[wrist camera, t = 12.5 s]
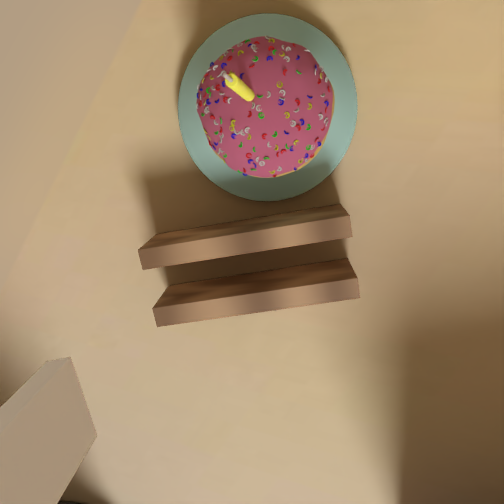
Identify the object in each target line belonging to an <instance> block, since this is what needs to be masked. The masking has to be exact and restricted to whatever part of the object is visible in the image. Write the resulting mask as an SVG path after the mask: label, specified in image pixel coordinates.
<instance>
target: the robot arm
mask: <svg viewBox="0 0 504 504" xmlns="http://www.w3.org/2000/svg"><path fill="white" fill-rule="evenodd" d="M96 437H97V433H96V430H95V427H94V424H93V421H92V418H91V415H90V413H89V410H88V407H87V404H86V401H85V398H84V395H83V392H82V389H81V386H80V383H79V380H78V377H77V374H76V371H75V368H74V366H73V363H72V360H71V357H67V358H62V359H56V360H51V361H47V362H46V363H45V364H44V365H43V366H42V367H40V368H39V369H38V370H37V371H36V372H35V373H34V374H33V375H32V376H31V377H30V378H29V379H28V380H27V381H26V382H25V383H24V384H23V385H22V386H21V387H20V388H19V389H18V390H17V391H16V392H15V393H14V394H13V395H12V396H11V397H10V398H9V399H8V400H7V401H6V402H5V403H4V404H3V405H2V406H1V407H0V504H79V503H73V502H58V501H59V500H60V498H61V496H62V495H63V493H64V491H65V490H66V488H67V486H68V485H69V483H70V481H71V479H72V478H73V476H74V474H75V473H76V471H77V469H78V468H79V466H80V464H81V462H82V461H83V459H84V457H85V456H86V454H87V452H88V451H89V449H90V447H91V445H92V444H93V442H94V440H95V439H96Z"/></svg>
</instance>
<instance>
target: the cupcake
mask: <svg viewBox="0 0 504 504" xmlns="http://www.w3.org/2000/svg"><path fill="white" fill-rule="evenodd" d="M211 64H212V65H211ZM321 67H322V68H321ZM198 86H199V87H198ZM198 86H197V89H198V93H197V102H196V108H197V112H198V115H199V117H200V120H201V122H202V125H203V129H204V132H205V135H206V137H207V140H208V142H209V145H210V146H211V148H212V149H213V151H214V152H215V154H216V155H217V156H218V157H219V158H220V159H222V160H223V161H224V163H226V164H227V165H228V166H229V167H230V168H231V169H233V170H235V171H237V172H239V173H242V174H243V175H244V176H247V175H250V176H254V177H260V178H271V177H279V176H282V175H285V174H288V173H291V172H294V171H297V170H299V169H301V168H302V167H304V166H305V165H307V164H308V163H309V162H310V161H311V160H312V159H313V158H314V157H315V156H316V155H317V154H318V152H319V151H320V149H321V148H322V146H323V144H324V142H325V139H326V137H327V134H328V130H329V127H330V124H331V120H332V117H333V113H334V105H335V96H334V90H333V87H332V84H331V82H330V81H329V79H328V77H327V76H326V74H325V72H324V67H323V66H320V65H319V64H318V62H317V61H316V59H315V58H314V57H313V55H312V54H311V53H310V50H308V49H306V48H305V47H303V46H301V45H299V44H295V43H290V42H286V41H282V40H279V39H276V38H272V37H269V36H267V35H265V36H260V37H255V38H251V39H248V40H244V41H243V42H240V43H238V44H236V45H234V46H233V47H231V48H229V49H227V51H225V52H224V53H223V54H222V55H221V56H220V57H219V58H218V59H217V60H216V61H215V62H214V63H213V62H211V63H210V68H209V69H208V70H207V72H206V73H205V75H204V77H203V78H202V80H201V82H200V84H198Z"/></svg>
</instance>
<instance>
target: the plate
mask: <svg viewBox="0 0 504 504" xmlns="http://www.w3.org/2000/svg"><path fill="white" fill-rule="evenodd" d="M265 35H267V36H269V37H272V38H276V39H279V40H282V41H286V42H290V43H295V44H299V45H301V46H303V47H305V48H306V49H308V50H310V53H311V54H312V55H313V57H314V58H315V59H316V61H317V62H318V64H319V65H320V66H323V67H324V72H325V74H326V76H327V77H328V79H329V81H330V82H331V84H332V87H333V90H334V96H335V105H334V113H333V117H332V120H331V124H330V127H329V130H328V134H327V137H326V139H325V142H324V144H323V146H322V148H321V149H320V151H319V152H318V154H317V155H316V156H315V157H314V158H313V159H312V160H311V161H310V162H309V163H308V164H307V165H305V166H304V167H302V168H301V169H299V170H297V171H294V172H291V173H288V174H285V175H282V176H279V177H271V178H260V177H254V176H250V175H247V176H244V175H243V174H242V173H239V172H237V171H235V170H233V169H231V168H230V167H229V166H228V165H227V164H226V163H224V161H223V160H222V159H220V158H219V157H218V156H217V155H216V154H215V152H214V151H213V149H212V148H211V146H210V145H209V142H208V140H207V137H206V135H205V132H204V129H203V125H202V122H201V120H200V117H199V115H198V112H197V108H196V102H197V93H198V89H197V86H198V84H200V82H201V80H202V78H203V77H204V75H205V73H206V72H207V70H208V69H209V68H210V63H211V62H213V63H214V62H215V61H216V60H217V59H218V58H219V57H220V56H221V55H222V54H223V53H224V52H225V51H227V49H229V48H231V47H233V46H234V45H236V44H238V43H240V42H243V41H244V40H248V39H251V38H255V37H260V36H265ZM211 65H212V64H211ZM321 68H322V67H321ZM198 87H199V86H198ZM178 118H179V125H180V130H181V134H182V137H183V141H184V143H185V146H186V148H187V150H188V152H189V154H190V156H191V158H192V159H193V161H194V162H195V164H196V165H197V166H198V168H199V169H200V170H201V171H202V172H203V173H204V175H205V176H206V177H207V178H208V179H210V180H211V181H212V182H213V183H215V184H216V185H217V186H219V187H220V188H222V189H224V190H225V191H227V192H229V193H231V194H234V195H236V196H239V197H242V198H246V199H250V200H256V201H277V200H283V199H288V198H292V197H295V196H297V195H300V194H302V193H304V192H306V191H308V190H310V189H312V188H313V187H315V186H316V185H318V184H319V183H321V182H322V181H323V180H324V179H325V178H326V177H327V176H328V175H330V174H331V173H332V171H333V170H334V169H335V168H336V167H337V165H338V164H339V163H340V161H341V160H342V158H343V156H344V155H345V153H346V151H347V149H348V147H349V145H350V142H351V139H352V136H353V134H354V130H355V125H356V120H357V93H356V88H355V82H354V79H353V76H352V73H351V70H350V68H349V66H348V64H347V62H346V60H345V58H344V56H343V55H342V53H341V52H340V50H339V49H338V48H337V46H336V45H335V44H334V43H333V42H332V41H331V39H329V38H328V37H327V36H326V35H325V34H324V33H323V32H322V31H320V30H319V29H317V28H316V27H314V26H313V25H311V24H309V23H307V22H305V21H303V20H301V19H298V18H295V17H291V16H288V15H282V14H269V13H263V14H256V15H250V16H246V17H243V18H239V19H237V20H235V21H232V22H230V23H228V24H226V25H225V26H223V27H221V28H220V29H218V30H217V31H216V32H214V33H213V34H212V35H211V36H210V37H208V38H207V39H206V40H205V42H204V43H203V44H202V45H201V46H200V47H199V48H198V50H197V51H196V53H195V54H194V55H193V57H192V59H191V60H190V62H189V64H188V66H187V68H186V71H185V73H184V76H183V79H182V82H181V87H180V91H179V100H178Z"/></svg>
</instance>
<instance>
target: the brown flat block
mask: <svg viewBox="0 0 504 504" xmlns="http://www.w3.org/2000/svg"><path fill="white" fill-rule="evenodd" d="M356 298H360V293H359V285H358V278H357V276H356V274H355V272H354V270H353V268H352V266H351V264H350V262H349V260H348V258H347V259H340V260H334V261H327V262H321V263H314V264H308V265H301V266H295V267H288V268H281V269H275V270H268V271H262V272H255V273H249V274H242V275H236V276H229V277H223V278H216V279H209V280H203V281H196V282H190V283H183V284H177V285H170V286H168V287H167V289H166V290H165V292H164V293H163V294H162V296H161V297H160V299H159V300H158V301H157V303H156V304H155V305H154V307H153V308H152V309H153V313H154V317H155V321H156V325H157V327H160V326H167V325H174V324H181V323H188V322H195V321H202V320H209V319H216V318H223V317H230V316H237V315H244V314H251V313H258V312H265V311H272V310H279V309H286V308H293V307H300V306H307V305H314V304H321V303H328V302H335V301H342V300H349V299H356Z"/></svg>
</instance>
